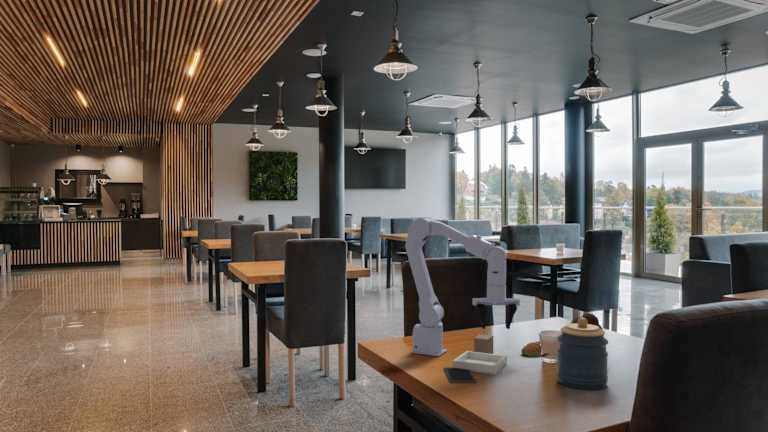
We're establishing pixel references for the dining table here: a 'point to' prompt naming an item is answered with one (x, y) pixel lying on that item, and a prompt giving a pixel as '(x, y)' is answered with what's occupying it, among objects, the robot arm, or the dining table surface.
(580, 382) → the canister
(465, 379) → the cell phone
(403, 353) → the dining table surface
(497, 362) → the bin
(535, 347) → the pastry
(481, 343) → the beige block
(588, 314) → the ice cream bowl
